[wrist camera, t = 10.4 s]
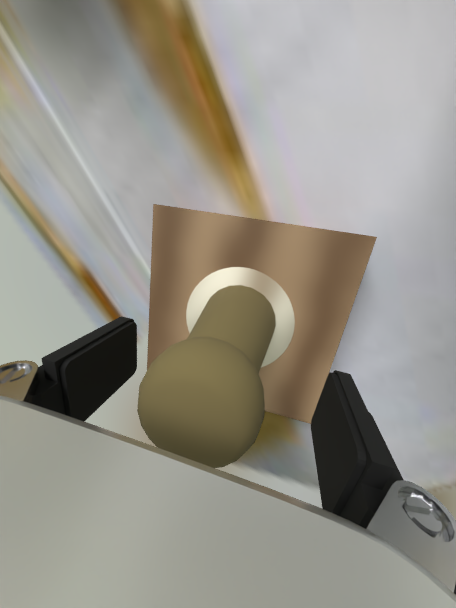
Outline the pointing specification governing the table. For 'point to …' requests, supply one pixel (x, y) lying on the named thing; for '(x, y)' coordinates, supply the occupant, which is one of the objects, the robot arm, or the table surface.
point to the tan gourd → (211, 381)
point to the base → (265, 279)
